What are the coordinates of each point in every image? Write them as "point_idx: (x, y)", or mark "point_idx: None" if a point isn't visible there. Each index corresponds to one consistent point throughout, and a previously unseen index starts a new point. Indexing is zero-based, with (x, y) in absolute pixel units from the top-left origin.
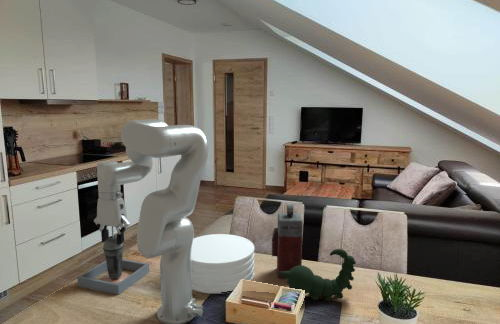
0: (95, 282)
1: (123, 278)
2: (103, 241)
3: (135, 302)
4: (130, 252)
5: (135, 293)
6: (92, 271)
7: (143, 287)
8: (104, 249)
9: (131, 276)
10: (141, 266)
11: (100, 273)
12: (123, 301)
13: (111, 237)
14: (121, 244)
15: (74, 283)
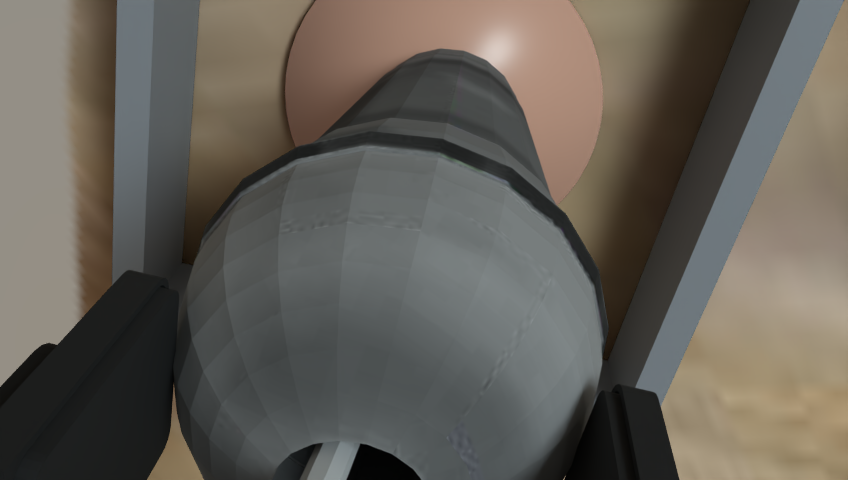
0: None
1: (547, 109)
2: (160, 451)
3: (819, 477)
4: None
5: (781, 358)
6: (155, 159)
7: (841, 252)
8: (298, 467)
9: (720, 269)
10: None
11: (197, 11)
12: (706, 468)
13: (242, 342)
14: (594, 397)
15: (81, 236)
